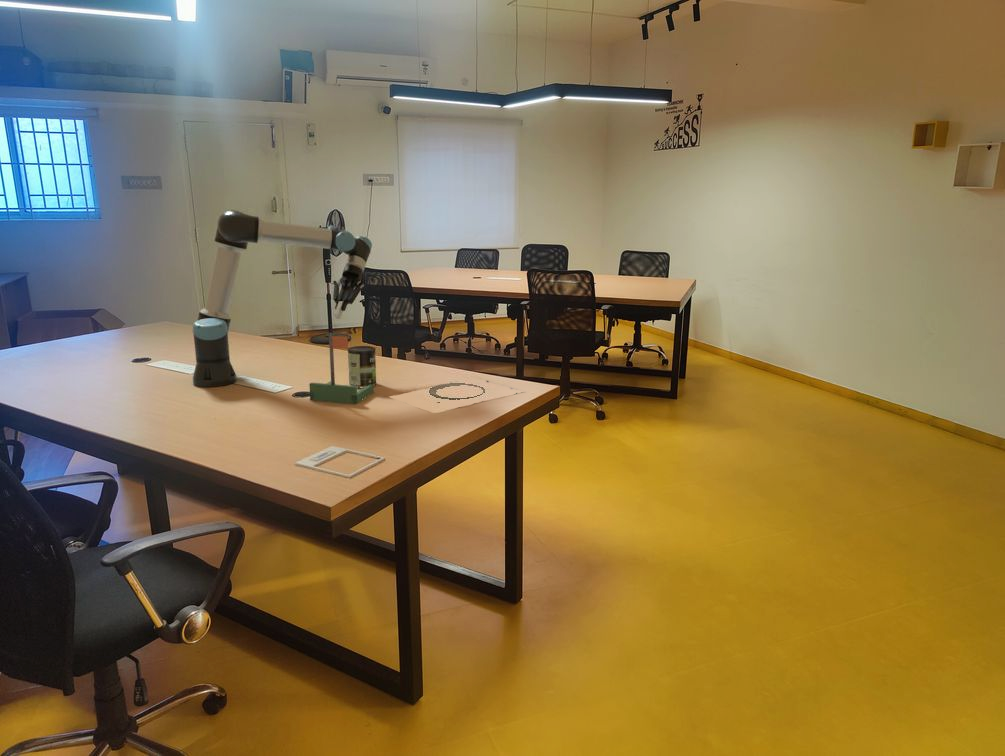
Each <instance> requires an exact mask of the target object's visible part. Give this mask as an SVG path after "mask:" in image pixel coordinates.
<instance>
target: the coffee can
mask: <svg viewBox="0 0 1005 756" xmlns="http://www.w3.org/2000/svg"><path fill="white" fill-rule="evenodd" d="M346 350H347V359H348V361H347V362H348V380H349V381H348V385H350V386H357V387H366V386H368V385H370V384H373V385H375V384H376V385H377V366H376V365H377V364H376V363H377V362H376V361H377V360H376V347H374V346H370V345H369V346H368V345H355V346H351V347H348V349H346ZM376 385H375V386H376Z"/></svg>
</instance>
